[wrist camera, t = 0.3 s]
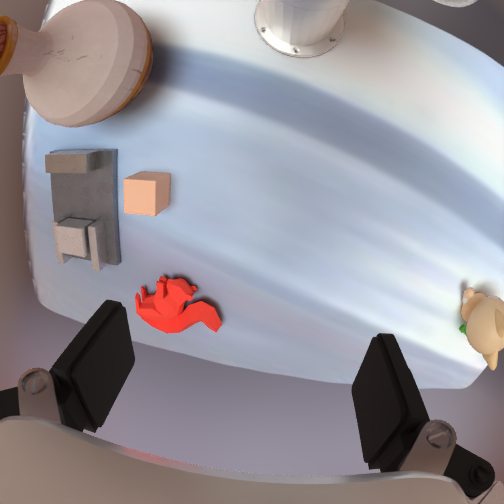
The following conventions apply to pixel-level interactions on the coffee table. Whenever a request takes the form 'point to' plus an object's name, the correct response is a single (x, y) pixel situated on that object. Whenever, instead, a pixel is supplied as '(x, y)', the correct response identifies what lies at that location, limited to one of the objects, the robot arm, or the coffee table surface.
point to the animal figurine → (174, 307)
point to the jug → (80, 61)
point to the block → (146, 193)
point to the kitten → (484, 324)
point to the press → (87, 199)
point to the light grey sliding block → (73, 236)
